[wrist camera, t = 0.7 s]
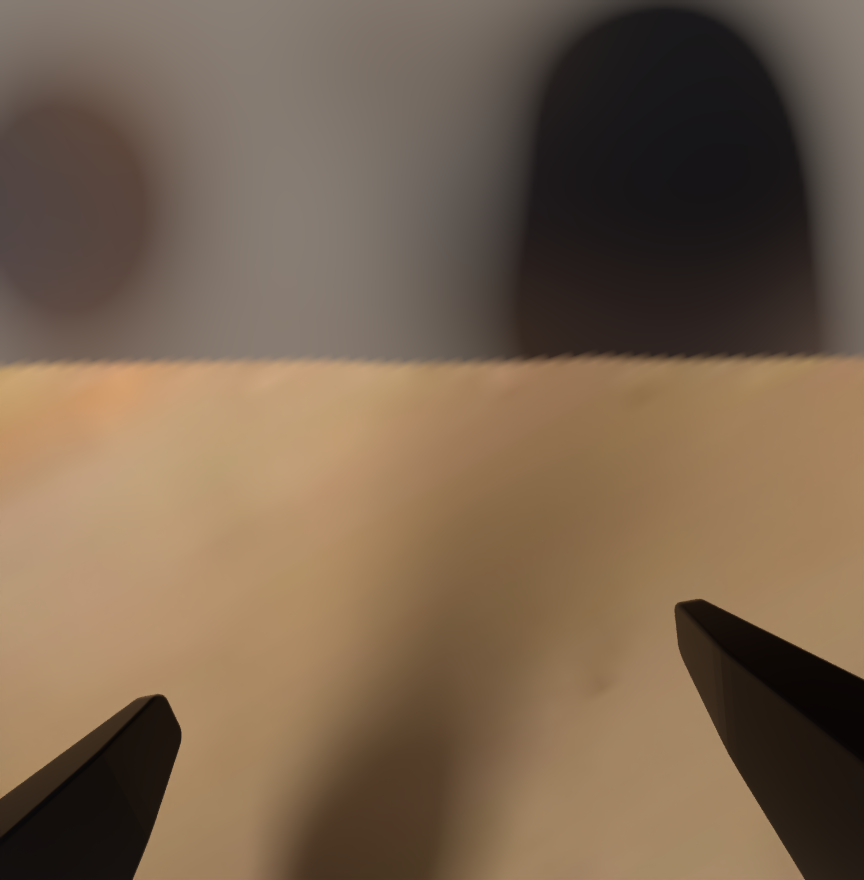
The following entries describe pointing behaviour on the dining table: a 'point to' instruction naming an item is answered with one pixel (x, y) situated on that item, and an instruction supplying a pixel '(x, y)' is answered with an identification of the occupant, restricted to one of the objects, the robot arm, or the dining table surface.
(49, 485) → the dining table surface
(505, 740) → the dining table surface
